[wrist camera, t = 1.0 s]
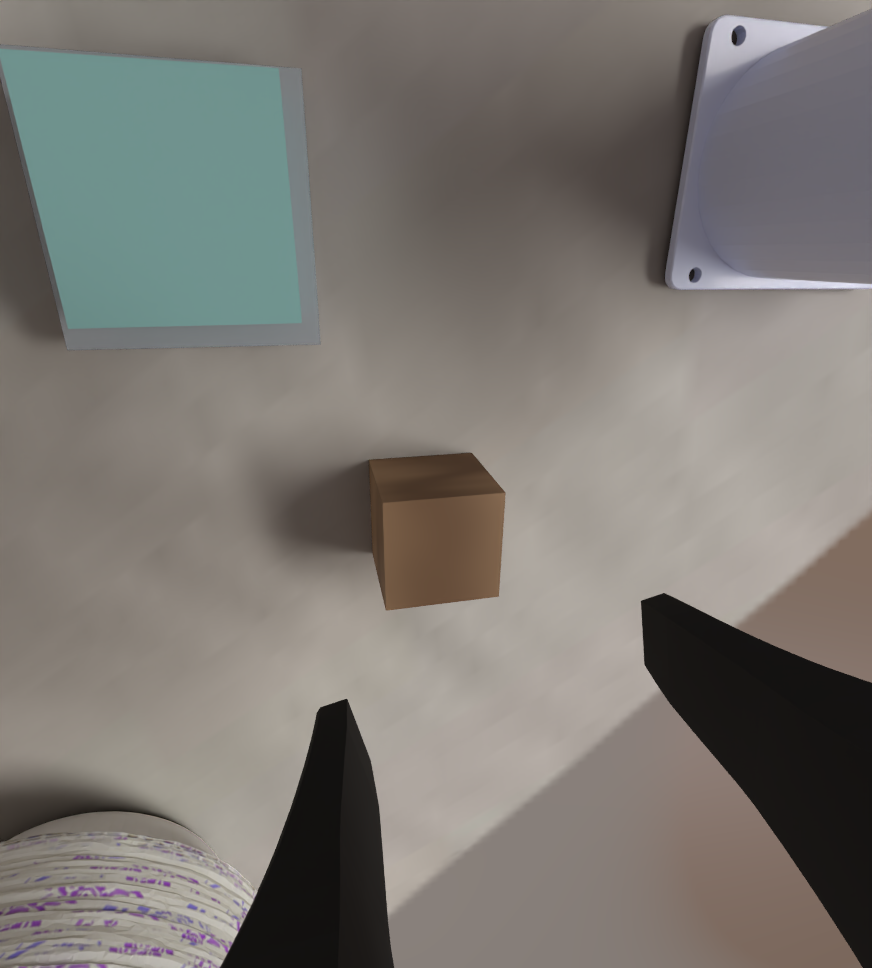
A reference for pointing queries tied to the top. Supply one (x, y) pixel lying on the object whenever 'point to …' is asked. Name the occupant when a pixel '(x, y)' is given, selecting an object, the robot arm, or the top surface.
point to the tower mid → (159, 188)
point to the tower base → (212, 333)
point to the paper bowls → (117, 895)
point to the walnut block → (435, 529)
